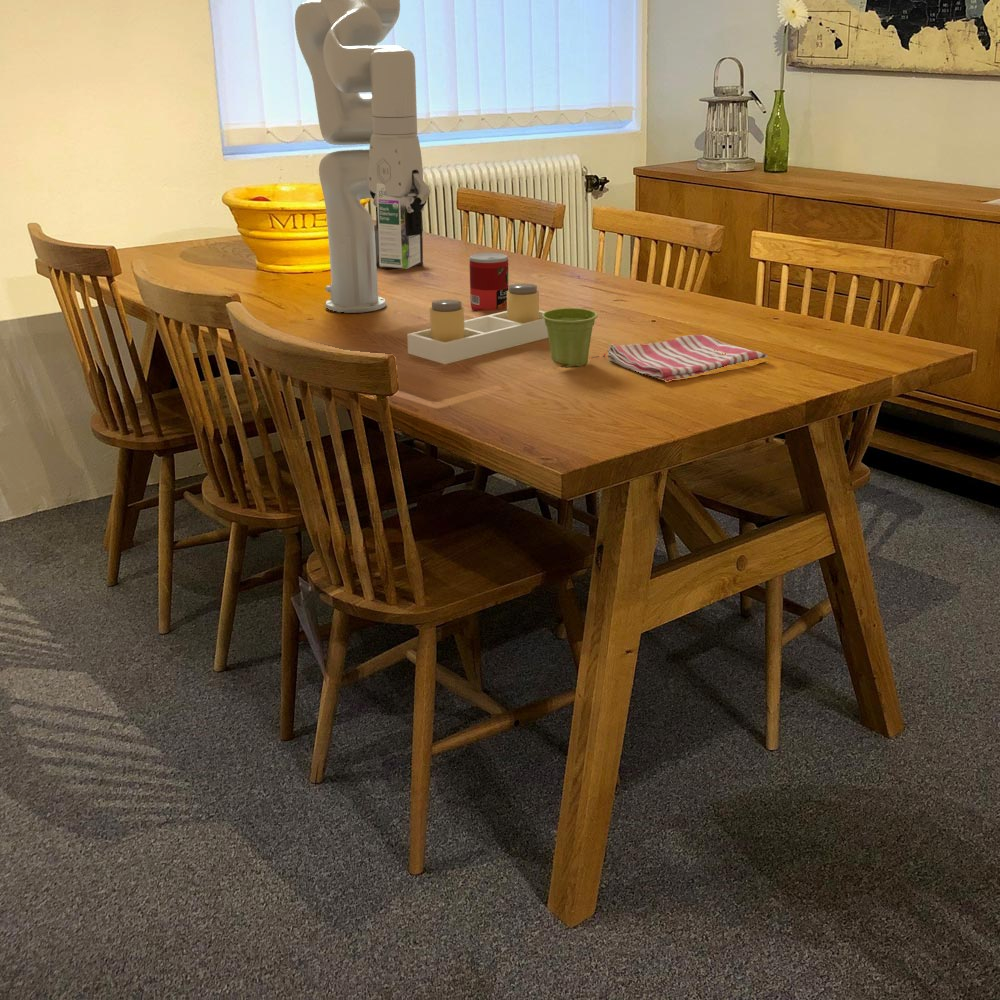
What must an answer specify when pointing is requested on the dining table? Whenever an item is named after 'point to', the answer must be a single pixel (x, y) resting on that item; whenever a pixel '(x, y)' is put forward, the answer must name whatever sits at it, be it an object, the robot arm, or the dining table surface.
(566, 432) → the dining table surface
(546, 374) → the dining table surface
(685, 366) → the dish towel
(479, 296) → the canned food
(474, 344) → the caddy
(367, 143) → the robot arm
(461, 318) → the honey jar
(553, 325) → the plant pot
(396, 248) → the syrup box
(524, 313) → the honey jar
